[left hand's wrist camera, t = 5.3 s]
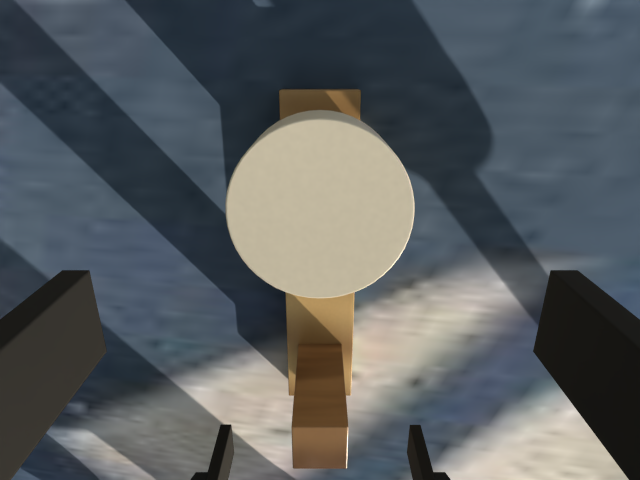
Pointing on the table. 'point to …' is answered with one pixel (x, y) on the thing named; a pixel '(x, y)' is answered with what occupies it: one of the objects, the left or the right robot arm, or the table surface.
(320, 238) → the cap
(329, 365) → the canister stand
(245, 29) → the table surface
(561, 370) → the left robot arm
